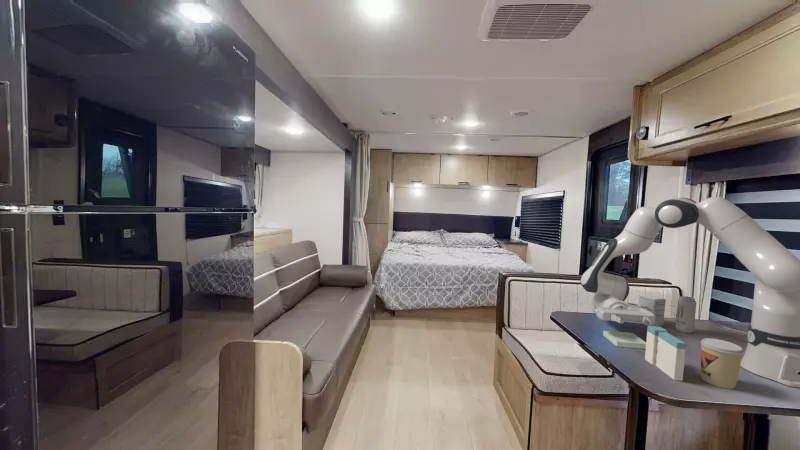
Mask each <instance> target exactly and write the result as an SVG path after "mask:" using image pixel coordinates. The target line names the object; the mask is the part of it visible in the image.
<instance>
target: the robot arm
mask: <svg viewBox="0 0 800 450" xmlns="http://www.w3.org/2000/svg"><path fill="white" fill-rule="evenodd" d="M692 224H699V225H701V226H703V227H704V228H705V229H706V230H707V231H708V232H709V233H711V234H712V236H714V237H715V238H716V240H718V241H719V242H720V243H721V244H722V245H723V246H724V247H725V248H726V249H728V251H729V252H730V253H731V254H732V255H733V256H735V258H736V259H737V260H738V261H739V262H740V263H741V265H743V266H745V268H746V269H747V270H748V271H749V272H750V273H751V274H752V275H753V276H754V277H755V279H754V280H755V281H754V290H753V302H752V310H751V312H752V313H751V320H750V324H749V325H748V330H747V345H746V348H745V351H744V353H743V355H742V359H741V364H740V367H742V368H743V369H745V370H746V371H749V372H750V373H752V374H755V375H758V376H761V377H762V378H764V379H765V378H766V379H770V380H773V381H775V382H778V383H780V384H782V385H785V386H788V387H793V388H799V389H800V259H799V258H798V257H797V256H796V255H795V254H794V253H792V252H791V251H790V250H789V249H788V248H787V247H785V246H784V245H783V243H781V242H779V241H778V240H777V239H776V238H775V237H774V236H773V235H772V234H770V233H769V232H768V231H767V230H766V229H765V228H763V226H761V225H760V224H759V223H758V222H756V221H755V219H753V218H752V217H751V216H749V215H748V214H747V213H746V212H745V211H744V210H743V209H741V208H740V207H738V205H736V204H734V203H732V202H731V201H729V200H728V199H725V198H724V197H722V196H712V197H707V198H705V199H704V200H702V201H700V202H696V201H695V200H694V199H691V198H688V197H674V198H670V199H666V200H664V201H662V202H661V203H659V204H658V205H657V207H655V208H654V207H650V206H641V207H638V208H636V209H635V211H634V212H633V213H632V215H631V216H630V218H628V220H627V223H626V224H625V226H624V228H623V229H622V231H621V233H620V234H618V235H617V236H616V237H614V238H612V239H608V241H607V242H606V243H605V245H603V247H602V248H601V250H600V251H599V253H598V254H597V256H596V257H595V258H594V259H593V261H592V262H591V264H590V265H589V267H587V269H586V270H585V271H583V273H582V275H581V277H580V281H579V282H580V285H581V287H582V288H583V290H584V291H585V292H587V293H588V292H589V293H593V294H592V296H591V302H592V304H593V307H594V308H592V309H591V310H592V312H594V313H595V316H596V317H597V318H599V320H601V321H612V322H616V323H619V324H624V323H632V324H633V323H634V324H643V325H644V326H647V327H648V326H651V324H654V323H655V315H654V314H653V313H651V312H649V311H648V310H646V309H643V308H641V306H640V305H638V304H636V303H631V302H627V301H626V300H627V298H628V297H629V294H630V285H629V282H628V280H627V279H626V278H625V277H624V276H620V275H617V274H616V275H615V274H612V273H609V272H608V273H607V272H604V270H605V269H606V268H607V266H608V265H609V263H610V262H611V261H612V260H613V259H614V258H616V257H621V256H625V255H637V254H641V253H644V252H647V250H649V248H650V247H651V246H653V243H654V241H655V239H656V237H657V236H658V233H659V231H660V230H661V229H662V228H663V227H665V228H669V229H679V228H683V227H686V226H689V225H692Z"/></svg>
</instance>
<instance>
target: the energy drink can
mask: <svg viewBox="0 0 800 450" xmlns="http://www.w3.org/2000/svg"><path fill="white" fill-rule="evenodd" d="M696 310H697V302H696V298H695V297H692V296H687V295H680V296H679V298H678V299H677V308H676V317H675V318H676V319H675V328H676V331H678V332H680V333H684V334H692V333H693V332H694V329H695V322H696V312H697V311H696Z"/></svg>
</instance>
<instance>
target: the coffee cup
mask: <svg viewBox="0 0 800 450" xmlns="http://www.w3.org/2000/svg"><path fill="white" fill-rule="evenodd" d="M700 344H701V345H700V377H701V379H702V380H703V381H705V382H706V383H708V384H710V385H712V386H716V387H719V388H723V389H729V390H733V389H735V388H736V385H737V383H738V378H739V372H740V368H741V365H740V364H741V360H742V358H743V355H744V350H743V348H742V347H741V346H740V345H738V344H735V343H734V342H730V341H726V340H722V339H719V338H718V339H717V338H712V337H711V338H709V337H707V338H706V337H705V338H702V340H700Z"/></svg>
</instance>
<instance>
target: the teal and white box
mask: <svg viewBox="0 0 800 450" xmlns="http://www.w3.org/2000/svg"><path fill="white" fill-rule="evenodd" d="M657 343H658V345H657V352H656V353H657V356H656V365H655V367H656V368H658V369H659V370H660V371H662V372H663V373H664V374H666V375H667V376H668V377H669V378H671V379H672V380H674V381H681V382H682V381H683V379H684V370H685V369H684V368H685V361H686V359H685V358H686V350H687V343H686V342H684V341H682V340H680V339H679V338H677V337H676V336H673V334H670V333H669V332H668V333H667V332H659V334H658V341H657Z"/></svg>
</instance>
